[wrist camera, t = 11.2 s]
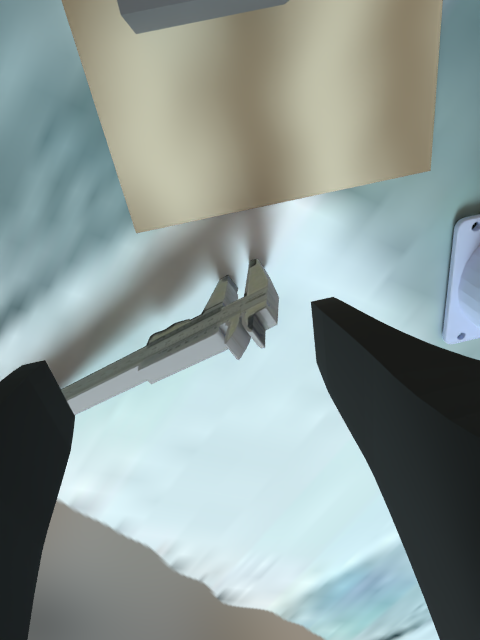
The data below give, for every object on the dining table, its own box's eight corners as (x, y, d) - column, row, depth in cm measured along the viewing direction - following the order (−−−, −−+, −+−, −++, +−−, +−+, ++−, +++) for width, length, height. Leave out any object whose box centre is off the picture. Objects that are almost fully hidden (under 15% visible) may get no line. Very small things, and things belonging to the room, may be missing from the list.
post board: (443, -253, 13) (575, -423, 9) (419, 166, 20) (487, 189, 15) (12, -172, 12) (-75, -308, 8) (138, 226, 19) (126, 266, 15)
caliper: (255, 253, 21) (282, 310, 16) (265, 269, 22) (295, 330, 16) (-30, 437, 25) (-90, 538, 19) (-15, 447, 25) (-69, 547, 20)
